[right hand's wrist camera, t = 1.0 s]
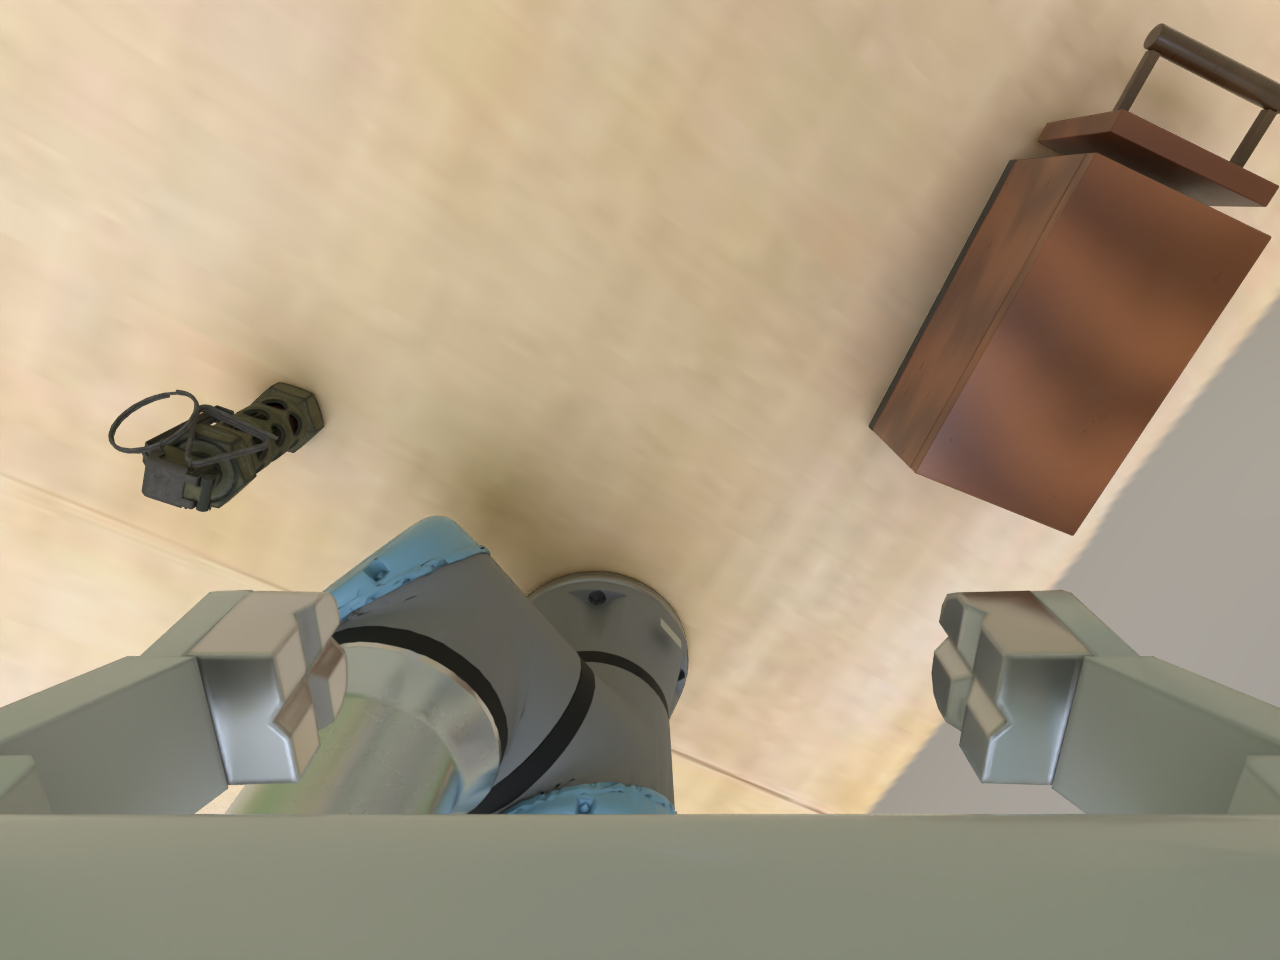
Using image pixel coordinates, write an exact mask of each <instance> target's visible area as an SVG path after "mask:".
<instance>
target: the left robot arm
mask: <svg viewBox="0 0 1280 960" xmlns="http://www.w3.org/2000/svg"><path fill="white" fill-rule="evenodd" d="M323 592H330V593H331V594H332V596H333V597H334V598H335V599H336V600H337V605H338V610H339V615H340V620H341V623H340V624H339V626H338V627H337V629H336V630H335V632H334V634H333V635H332V637H333V638H334V639H335V641H336V642H337V643H338V644H339V645H340V646H341V647H342V648H343V649H344V650H345V651H346V657H347V664H348V686H347V690H346V695H345V699H344V703H343V707H342V709H341V710H340V712H339V714H338V716H337V718H336V720H335V721H334V722H333V723H331V724H330V725H328V726H327V727H325V728H323V729H322V730H320V731H319V738H320V744H321V746H320V747H319V749H318V751H317V753H316V754H315V756H314V758H313V759H312V761H311V763H310V765H309V766H308V768H307V770H306V771H305V773H304V775H303V776H302V778H301V780H300V782H299V783H282V784H246V785H245V786H244V788H243V789H242V790H241V792H240V793H239V794H238V796H237V797H236V799H235V800H234V801H233V803H232V804H231V806H230V807H229V808H228V810H227V811H226V812H225V814H677V812H676V811H675V807H674V790H673V774H672V757H671V741H670V726H669V719H670V717H671V715H672V713H673V711H674V709H675V706H676V704H677V702H678V700H679V698H680V696H681V693H682V691H683V688H684V685H685V681H686V677H687V672H688V650H687V641H686V636H685V632H684V629H683V626H682V624H681V622H680V620H679V618H678V616H677V615H676V613H675V611H674V610H673V609H672V607H671V606H670V605H669V604H668V603H667V602H666V600H665V599H664V598H662V597H661V596H660V595H659V594H658V593H657V592H655V591H654V590H653V589H651V588H649V587H648V586H646V585H644V584H643V583H641V582H639V581H636V580H634V579H631V578H629V577H626V576H622V575H619V574H613V573H607V572H580V573H575V574H570V575H566V576H562V577H560V578H557V579H554V580H552V581H550V582H548V583H546V584H544V585H543V586H541V587H539V588H538V589H537V590H535V591H534V592H533V593H531V594H530V595H529V596H528V597H526V596H525V595H524V594H523V592H522V591H521V590H520V589H519V588H518V587H517V586H516V585H515V583H514V582H513V581H512V580H511V579H510V578H509V577H508V575H507V574H506V573H505V572H504V571H503V570H502V569H501V567H500V566H499V565H498V564H497V563H496V562H495V561H494V560H493V558H492V557H491V556H490V552H489V551H488V550H487V548H485V547H484V546H482V545H478V544H477V543H476V542H475V541H474V540H473V539H472V538H471V537H470V536H469V535H468V534H467V533H466V532H465V531H464V530H463V529H462V528H461V527H460V526H459V525H458V524H457V523H456V522H454V521H453V520H451V519H449V518H446V517H442V516H432V517H428V518H425V519H423V520H421V521H419V522H417V523H416V524H414V525H413V526H411V527H410V528H408V529H407V530H405V531H404V532H402V533H401V534H399V535H398V536H397V537H395V538H394V539H392V540H391V541H390V542H388V543H387V544H385V545H384V546H383V547H381V548H380V549H379V550H377V551H376V552H374V553H373V554H372V555H370V556H369V557H368V558H366V559H365V560H364V561H362V562H361V563H360V564H358V565H357V566H356V567H354V568H353V569H352V570H350V571H349V572H348V573H346V574H345V575H344V576H342V577H341V578H340V579H338V580H337V581H336V582H334V583H333V584H332V585H330V586H329V587H328V588H327V589H325V590H324V591H323Z"/></svg>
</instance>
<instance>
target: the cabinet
mask: <svg viewBox="0 0 1280 960" xmlns="http://www.w3.org/2000/svg"><path fill="white" fill-rule="evenodd" d="M1270 239H1271V236H1269V235H1267V234H1265V233H1263V232H1261V231H1259V230H1257V229H1255V228H1253V227H1251V226H1249V225H1246V224H1244V223H1242V222H1240V221H1238V220H1236V219H1234V218H1232V217H1230V216H1228V215H1226V214H1224V213H1222V212H1219V211H1217V210H1215V209H1213V208H1211V207H1209V206H1207V205H1205V204H1203V203H1201V202H1199V201H1197V200H1195V199H1192V198H1190V197H1188V196H1186V195H1184V194H1182V193H1180V192H1178V191H1176V190H1174V189H1172V188H1170V187H1168V186H1165V185H1163V184H1161V183H1159V182H1157V181H1155V180H1153V179H1151V178H1149V177H1147V176H1145V175H1143V174H1141V173H1138V172H1136V171H1134V170H1132V169H1130V168H1128V167H1126V166H1124V165H1122V164H1120V163H1118V162H1116V161H1114V160H1111V159H1109V158H1107V157H1105V156H1103V155H1101V154H1099V153H1088V154H1087V153H1085V154H1075V155H1065V156H1055V157H1045V158H1034V159H1024V160H1010V161H1009V163H1008V165H1007V167H1006V169H1005V171H1004V173H1003V174H1002V176H1001V178H1000V180H999V182H998V184H997V186H996V188H995V189H994V191H993V193H992V195H991V197H990V199H989V201H988V203H987V205H986V206H985V208H984V210H983V212H982V214H981V216H980V218H979V220H978V221H977V223H976V225H975V227H974V229H973V231H972V233H971V235H970V237H969V238H968V240H967V242H966V244H965V246H964V248H963V250H962V252H961V253H960V255H959V257H958V259H957V261H956V263H955V265H954V267H953V269H952V270H951V272H950V274H949V276H948V278H947V280H946V282H945V284H944V286H943V287H942V289H941V291H940V293H939V295H938V297H937V299H936V301H935V302H934V304H933V306H932V308H931V310H930V312H929V314H928V316H927V318H926V319H925V321H924V323H923V325H922V327H921V329H920V331H919V333H918V334H917V336H916V338H915V340H914V342H913V344H912V346H911V348H910V350H909V351H908V353H907V355H906V357H905V359H904V361H903V363H902V365H901V367H900V368H899V370H898V372H897V374H896V376H895V378H894V380H893V382H892V383H891V385H890V387H889V389H888V391H887V393H886V395H885V397H884V399H883V400H882V402H881V404H880V406H879V408H878V410H877V412H876V414H875V415H874V417H873V419H872V421H871V423H870V425H869V428H870V429H871V430H873V431H874V432H875V433H876V434H877V435H878V436H879V437H880V438H881V439H882V440H883V441H884V442H885V443H886V444H887V445H888V446H889V447H890V448H891V449H892V450H893V451H894V452H895V453H896V454H897V455H898V456H899V457H900V458H901V459H902V460H903V461H904V462H905V463H906V464H907V465H908V466H909V467H910V468H911V469H912V470H913V471H914V472H915V473H917V474H919V475H922V476H924V477H927V478H929V479H932V480H934V481H937V482H939V483H942V484H944V485H947V486H949V487H952V488H954V489H957V490H959V491H962V492H964V493H967V494H969V495H972V496H974V497H977V498H979V499H982V500H984V501H987V502H989V503H992V504H994V505H997V506H999V507H1002V508H1004V509H1007V510H1009V511H1012V512H1014V513H1017V514H1019V515H1022V516H1024V517H1027V518H1029V519H1031V520H1034V521H1036V522H1039V523H1041V524H1044V525H1046V526H1049V527H1051V528H1054V529H1056V530H1059V531H1061V532H1064V533H1066V534H1069V535H1071V536H1073V535H1074V534H1075V533H1076V531H1077V530H1078V528H1079V527H1080V525H1081V524H1082V522H1083V521H1084V519H1085V518H1086V516H1087V515H1088V513H1089V512H1090V510H1091V509H1092V507H1093V506H1094V504H1095V503H1096V501H1097V500H1098V498H1099V497H1100V495H1101V493H1102V492H1103V490H1104V489H1105V487H1106V486H1107V484H1108V483H1109V481H1110V480H1111V478H1112V477H1113V475H1114V474H1115V472H1116V471H1117V469H1118V468H1119V466H1120V465H1121V463H1122V462H1123V460H1124V459H1125V457H1126V456H1127V454H1128V453H1129V451H1130V450H1131V448H1132V447H1133V445H1134V444H1135V442H1136V441H1137V439H1138V438H1139V436H1140V435H1141V433H1142V432H1143V430H1144V429H1145V427H1146V426H1147V424H1148V423H1149V421H1150V420H1151V418H1152V417H1153V415H1154V414H1155V412H1156V411H1157V409H1158V408H1159V406H1160V405H1161V403H1162V402H1163V400H1164V399H1165V397H1166V396H1167V394H1168V393H1169V391H1170V390H1171V388H1172V387H1173V385H1174V384H1175V382H1176V381H1177V379H1178V378H1179V376H1180V375H1181V373H1182V372H1183V370H1184V369H1185V367H1186V366H1187V364H1188V363H1189V361H1190V360H1191V358H1192V357H1193V355H1194V354H1195V352H1196V351H1197V349H1198V348H1199V346H1200V345H1201V343H1202V342H1203V340H1204V338H1205V337H1206V335H1207V334H1208V332H1209V331H1210V329H1211V328H1212V326H1213V325H1214V323H1215V322H1216V320H1217V319H1218V317H1219V316H1220V314H1221V313H1222V311H1223V310H1224V308H1225V307H1226V305H1227V304H1228V302H1229V301H1230V299H1231V298H1232V296H1233V295H1234V293H1235V292H1236V290H1237V289H1238V287H1239V286H1240V284H1241V283H1242V281H1243V280H1244V278H1245V277H1246V275H1247V274H1248V272H1249V271H1250V269H1251V268H1252V266H1253V265H1254V263H1255V262H1256V260H1257V259H1258V257H1259V256H1260V254H1261V253H1262V251H1263V250H1264V248H1265V247H1266V245H1267V244H1268V242H1269V241H1270Z"/></svg>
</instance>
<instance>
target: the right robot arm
mask: <svg viewBox="0 0 1280 960" xmlns="http://www.w3.org/2000/svg"><path fill="white" fill-rule="evenodd" d="M340 623H341V620H340V615H339V610H338V605H337V600H336V599H335V598H334V597H333V596H332V594H331V593H330V592H289V591H252V590H236V591H215V592H209V593H208V594H207V595H206V596H205V597H204V598H203V599H202V600H201V601H200V602H198V603H197V604H196V605H195V606H194V607H193V608H192V609H191V610H190V611H189V612H188V613H186V614H185V615H184V616H183V617H182V618H181V619H180V620H179V621H178V622H177V623H176V624H174V625H173V626H172V627H171V628H170V629H169V630H168V631H167V632H166V633H165V634H164V635H162V636H161V637H160V638H159V639H158V640H157V641H156V642H155V643H154V644H153V645H152V646H150V647H149V648H148V649H147V650H146V651H145V652H144V653H143V654H142V655H141V656H127V657H124V658H122V659H119V660H117V661H114V662H112V663H109V664H107V665H105V666H102V667H100V668H97V669H95V670H92V671H90V672H87V673H85V674H82V675H80V676H77V677H75V678H73V679H70V680H68V681H65V682H63V683H60V684H58V685H55V686H53V687H50V688H48V689H46V690H43V691H41V692H38V693H36V694H33V695H31V696H28V697H26V698H23V699H21V700H18V701H16V702H14V703H11V704H9V705H6V706H4V707H1V708H0V960H1280V708H1278V707H1276V706H1274V705H1271V704H1269V703H1266V702H1264V701H1261V700H1259V699H1256V698H1254V697H1251V696H1249V695H1247V694H1244V693H1242V692H1239V691H1237V690H1234V689H1232V688H1229V687H1227V686H1224V685H1222V684H1220V683H1217V682H1215V681H1212V680H1210V679H1207V678H1205V677H1202V676H1200V675H1197V674H1195V673H1193V672H1190V671H1188V670H1185V669H1183V668H1180V667H1178V666H1175V665H1173V664H1170V663H1168V662H1166V661H1163V660H1161V659H1158V658H1156V657H1153V656H1139V655H1138V654H1137V653H1136V652H1135V651H1134V650H1133V649H1132V648H1131V647H1130V646H1129V645H1127V644H1126V643H1125V642H1124V641H1123V640H1122V639H1121V638H1120V637H1119V636H1118V635H1117V634H1115V633H1114V632H1113V631H1112V630H1111V629H1110V628H1109V627H1108V626H1107V625H1106V624H1105V623H1103V622H1102V621H1101V620H1100V619H1099V618H1098V617H1097V616H1096V615H1095V614H1094V613H1093V612H1091V611H1090V610H1089V609H1088V608H1087V607H1086V606H1085V605H1084V604H1083V603H1082V602H1081V601H1080V600H1079V599H1077V598H1076V597H1075V596H1074V595H1073V594H1072V593H1070V592H1066V591H1063V590H1047V591H1000V592H958V593H951V594H947V596H946V598H945V600H944V602H943V604H942V608H941V614H940V620H939V623H940V624H941V626H942V627H943V629H944V630H945V632H946V634H947V635H948V637H947V638H946V639H945V641H944V642H943V643H942V644H941V645H940V646H939V647H938V648H937V649H936V650H935V651H934V658H933V666H932V682H933V693H934V696H935V700H936V703H937V706H938V709H939V711H940V712H941V714H942V716H943V718H944V720H945V721H946V722H947V723H949V724H950V725H952V726H954V727H955V728H957V729H958V730H960V731H961V738H960V744H959V746H960V747H961V749H962V751H963V753H964V754H965V756H966V758H967V759H968V761H969V763H970V764H971V766H972V768H973V770H974V771H975V773H976V775H977V776H978V778H979V780H980V781H981V783H997V784H1033V785H1052V789H1054V790H1055V791H1056V792H1058V793H1059V794H1060V795H1062V796H1063V797H1064V798H1066V799H1067V800H1068V801H1070V802H1071V803H1072V804H1074V805H1075V806H1077V807H1078V808H1079V809H1080V810H1082V811H1083V812H1084V813H1086V814H195V813H196V812H197V811H199V810H200V809H201V808H203V807H204V806H205V805H207V804H208V803H209V802H211V801H212V800H213V799H215V798H216V797H217V796H219V795H220V794H221V793H223V792H224V791H225V790H227V789H228V785H246V784H282V783H299V782H300V780H301V778H302V776H303V775H304V773H305V771H306V770H307V768H308V766H309V765H310V763H311V761H312V759H313V758H314V756H315V754H316V753H317V751H318V749H319V747H320V746H321V744H320V738H319V731H320V730H322V729H323V728H325V727H327V726H328V725H330V724H331V723H333V722H334V721H335V720H336V718H337V716H338V714H339V712H340V710H341V709H342V707H343V703H344V699H345V695H346V690H347V686H348V664H347V657H346V651H345V650H344V649H343V648H342V647H341V646H340V645H339V644H338V643H337V642H336V641H335V639H334V638H333V637H332V635H333V634H334V632H335V630H336V629H337V627H338V626H339V624H340Z"/></svg>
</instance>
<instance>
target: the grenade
mask: <svg viewBox="0 0 1280 960" xmlns="http://www.w3.org/2000/svg"><path fill="white" fill-rule="evenodd" d="M170 395H184V396H187V397H189V398H191V399H192V400H193V401H194V411H193V413H192V415H191V417H190V418H189V420H187V421H185V422H183V423H182V424H180V425H178V426H176V427H174V428H172V429H170V430H168V431H166V432H164V433H162V434H160V435H158V436H156V437H154V438H152V439H150V440H148V441H146V442H145V447H140V448H123V447H120V446H118V445H116V444H115V441H114V435H115V432H116V429H117V428H118V426H119V425H120V424H121V422H122V421H123V420H124V419H125V418H127V417H128V416H129V415H130V414H131V413H133V412H134V411H136V410H137V409H139V408H141V407H142V406H144V405H147V404H149V403H151V402H154V401H157V400H160V399H164V398H169V397H170ZM201 412H203V413H201ZM200 413H201V414H200ZM214 422H215V423H217V424H215V425H213V426H212V425H210V424H212V423H214ZM323 427H324V425H323V420H322V416H321V412H320V409H319V406H318V404H317V401H316V399H315V397H314V395H313V394H312V393H310V392H307V391H305V390H303V389H300V388H297V387H294V386H291V385H288V384H284V383H280V382H278V383H276V384H274V385H272V386H271V387H270V388H268V389H267V390H266V391H265V392H264V393H263V394H262V395H260V396H259V397H258V398H257V399H256V400H255V401H254V402H253V403H252V404H251V405H250V406H248V407H246V408H244V409H243V410H241V411H239V412H237V413H236V414H234V411H232V410H229V409H226V408H223V407H221V406H218V405H217V406H215V407H213V406H211V405H199V403H198V401H197V400H196V398H195V397H194V396H193V395H192V394H191V393H189V392H186V391H182V390H176V392H168V393H162V394H158V395H154V396H151V397H148V398H146V399H144V400H142V401H140V402H138V403H136V404H134V405H132V406H131V407H129V408H128V409H127V410H125V411H124V412H123V413H122V414H121V415H120V416H118V418H117V419H116V420H115V421H114V423H113V424H112V426H111V428H110V431H109V441H110V443H111V445H112V446H113V447H114V448H115V449H117V450H118V451H121V452H124V453H142V455H143V463H144V464H145V473H144V479H143V486H142V493H143V494H144V495H145V496H146V497H149V498H152V499H155V500H158V501H161V502H164V503H167V504H170V505H173V506H176V507H179V508H182V507H184V508H185V509H187V508H189V509H193V508H195V507H196V510H198V511H201V512H206V511H208V510H209V509H210V510H211V507H215V508H220V507H221V506H223V505H224V504H225V503H227V502H228V501H230V500H231V499H232V498H233V497H234V496H235V495H236V494H238V493H239V492H240V491H241V490H242V489H243V488H244V487H245V486H247V485H248V484H249V483H250V482H251V481H252V480H253V479H254V478H255V477H256V473H258V472H259V471H261V470H262V469H264V468H265V467H266V466H268V465H269V464H270V463H271V462H272V461H274V460H276V459H277V458H279V457H280V456H282V455H283V454H284V453H286V452H292V453H294V452H296V451H297V450H298V449H300V448H301V447H302V446H303V445H304V444H306V443H307V442H308V441H309V440H310V439H311V438H312V437H314V436H315V435H316V434H317V433H318V432H319V431H320V430H321V429H322V428H323ZM181 506H182V507H181ZM210 510H209V511H210Z"/></svg>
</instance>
